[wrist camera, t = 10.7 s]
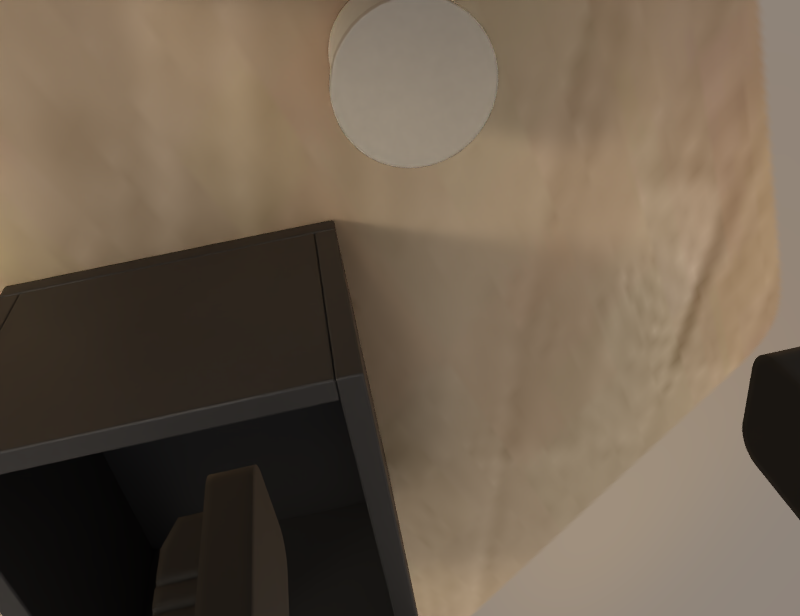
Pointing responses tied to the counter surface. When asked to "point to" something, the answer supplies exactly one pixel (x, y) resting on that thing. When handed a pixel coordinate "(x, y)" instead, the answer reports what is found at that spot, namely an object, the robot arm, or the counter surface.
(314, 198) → the counter surface
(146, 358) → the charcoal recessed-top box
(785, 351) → the robot arm
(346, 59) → the coffee pod
